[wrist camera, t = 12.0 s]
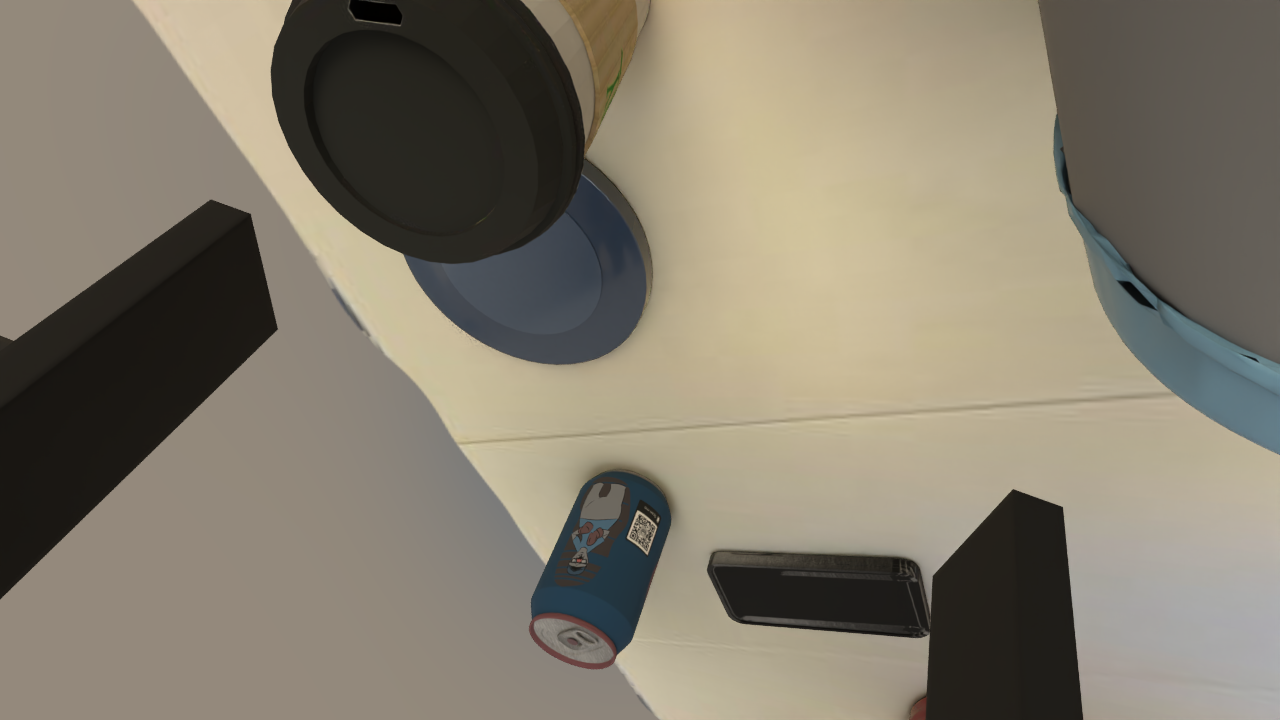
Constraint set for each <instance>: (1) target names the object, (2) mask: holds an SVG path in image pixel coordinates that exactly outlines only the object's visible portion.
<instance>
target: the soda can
mask: <svg viewBox="0 0 1280 720" xmlns="http://www.w3.org/2000/svg"><path fill="white" fill-rule="evenodd" d="M670 526H671V514H670V510H669V506H668V503H667V500H666V497H665V495H664V493H663V492H662V490H661V489H660V488H659V487H658V486H657V485H656V484H655V483H654V482H652V481H651V480H649V479H648V478H646V477H644V476H642V475H640V474H638V473H635V472H632V471H627V470H609V471H605V472H603V473H601V474H599V475H598V476H596V477H594V478H592V479H591V480H589V481H588V482H587V483H585V484H584V485H583V487H582V488H581V490H580V492H579V494H578V497H577V499H576V501H575V503H574V505H573V508H572V510H571V512H570V514H569V516H568V519H567V521H566V523H565V525H564V527H563V530H562V532H561V534H560V536H559V538H558V541H557V543H556V545H555V547H554V550H553V552H552V554H551V556H550V558H549V561H548V563H547V565H546V567H545V569H544V572H543V574H542V576H541V578H540V581H539V583H538V585H537V587H536V589H535V592H534V594H533V596H532V599H531V613H532V621H531V623H530V626H529V632H530V635H531V636H532V638H533V640H534V641H535V642H536V643H537V644H538V645H539V646H540V647H541V648H542V649H543V650H544V651H546V652H547V653H549V654H550V655H552V656H554V657H555V658H557V659H559V660H562V661H564V662H566V663H569V664H571V665H575V666H578V667H582V668H587V669H603V668H606V667H609V666H610V665H612V664H613V663H614V661H615V659H616V656H617V654H619V653H620V652H621V651H622V650H623V649H624V648H625V647H626V646H627V645H628V644H629V643H630V642H631V640H632V638H633V635H634V633H635V630H636V627H637V624H638V621H639V618H640V615H641V612H642V609H643V606H644V603H645V600H646V597H647V594H648V591H649V588H650V585H651V582H652V579H653V576H654V573H655V570H656V567H657V564H658V561H659V558H660V555H661V552H662V549H663V546H664V544H665V541H666V538H667V535H668V532H669V529H670Z"/></svg>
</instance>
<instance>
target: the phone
mask: <svg viewBox="0 0 1280 720" xmlns="http://www.w3.org/2000/svg"><path fill="white" fill-rule="evenodd" d="M707 572H708V574H709V577H710V579H711V581H712V583H713V585H714V587H715V589H716V591H717V593H718V595H719V598H720V600H721V602H722V604H723V606H724V608H725V610H726V612H727V614H728V616H729V617H730V618H731V619H732V620H734V621H736V622H739V623H742V624H751V625H763V626H775V627H787V628H799V629H812V630H824V631H836V632H848V633H861V634H873V635H885V636H897V637H909V638H922V637H925V636H927V635H928V634H929V633H930V614H929V609H928V605H927V600H926V595H925V591H924V586H923V582H922V577H921V573H920V569H919V567H918V566H917V565H916V564H915V563H913V562H911V561H909V560H905V559H896V558H871V557H845V556H820V555H794V554H768V553H742V552H716V553H713V554H712V555H711V557H710V561H709V565H708V568H707Z"/></svg>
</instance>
